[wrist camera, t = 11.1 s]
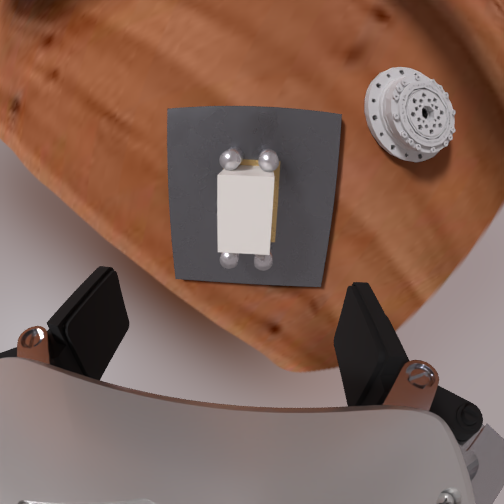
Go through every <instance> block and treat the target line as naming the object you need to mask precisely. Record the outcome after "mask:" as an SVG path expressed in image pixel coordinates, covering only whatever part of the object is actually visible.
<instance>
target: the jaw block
mask: <svg viewBox="0 0 504 504" xmlns="http://www.w3.org/2000/svg"><path fill="white" fill-rule="evenodd" d="M274 178H275V177H274V172H273V171H272V172H266V171H264V170H262V169H261V168H260V166H252V165H239V166H238V167H237V168H236V169H234V170H225V169H223V170H222V171H221V172H220V173H219V174H218V175H217V235H218V252H224V253H242V254H260V255H269V254H270V240H271V225H272V210H273V194H274Z"/></svg>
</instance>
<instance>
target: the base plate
mask: <svg viewBox="0 0 504 504" xmlns="http://www.w3.org/2000/svg"><path fill="white" fill-rule="evenodd" d="M341 117H342V114H335V113H328V112H320V111H312V110H302V109H291V108H277V107H257V106H206V107H185V108H172V109H168V119H167V152H168V187H169V207H170V222H171V236H172V247H173V258H174V268H175V277H176V279H185V280H199V281H213V282H228V283H244V284H262V285H283V286H306V287H321V283H322V277H323V272H324V266H325V260H326V254H327V248H328V241H329V234H330V227H331V220H332V213H333V205H334V197H335V188H336V179H337V169H338V158H339V146H340V133H341ZM239 165H252V166H260V168H261V169H262V170H264V171H266V172H272V171H273V172H274V177H275V178H274V194H273V210H272V225H271V240H270V254H269V255H260V254H242V253H224V252H218V235H217V175H218V174H219V173H220V172H221V171H222V170H223V169H225V170H234V169H236V168H237V167H238V166H239Z"/></svg>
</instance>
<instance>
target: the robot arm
mask: <svg viewBox="0 0 504 504" xmlns="http://www.w3.org/2000/svg"><path fill="white" fill-rule="evenodd" d="M47 325H48V327H49V330H48V331H46V329H45V328H43V327H41V326H35V327H31V328H28V329H27V330H25V331H24V332H23V333H22V334H21V335H20V337H19V339H18V344H17V347H16V348H13V349H10V350H8V351H5V352H2V353H0V504H492V503H493V502H494V500H495V499H496V497H497V496H498V494H499V493H500V491H501V489H502V488H503V486H504V439H503V438H502V437H501V436H500V435H499V434H498V433H497V432H496V431H494V429H492V428H491V427H490V426H489V425H488V424H486V425H485V426H484V425H483V424H482V423H483V418H482V414H481V411H480V410H479V408H478V407H477V406H476V405H474V404H473V403H471V402H469V401H467V400H465V399H463V398H461V397H459V396H457V395H455V394H454V393H452V392H450V391H448V390H446V389H444V388H442V387H440V386H438V383H439V377H438V373H437V372H436V370H435V369H434V368H433V367H432V366H431V365H430V364H428V363H427V362H424V361H421V360H412V361H409V359H408V357H407V355H406V353H405V351H404V349H403V346H402V345H401V342H400V340H399V338H398V337H397V334H396V332H395V330H394V328H393V326H392V324H391V322H390V320H389V318H388V317H387V316H386V315H385V313H384V311H383V309H382V307H381V305H380V304H379V302H378V300H377V298H376V296H375V294H374V292H373V291H372V289H371V287H370V285H369V284H368V283H362V282H354V283H353V284H352V286H348V288H347V292H346V296H345V300H344V304H343V308H342V312H341V315H340V319H339V323H338V326H337V330H336V333H335V337H334V347H335V351H336V355H337V360H338V364H339V368H340V372H341V377H342V381H343V386H344V391H345V395H346V399H347V404H348V407H328V408H269V407H248V406H236V405H225V404H216V403H207V402H200V401H192V400H186V399H180V398H174V397H168V396H162V395H157V394H152V393H148V392H143V391H139V390H134V389H130V388H126V387H122V386H118V385H114V384H110V383H107V382H103V381H100V379H101V377H102V375H103V373H104V371H105V369H106V368H107V366H108V364H109V362H110V360H111V359H112V357H113V355H114V353H115V351H116V350H117V348H118V346H119V344H120V343H121V341H122V339H123V337H124V336H125V334H126V332H127V330H128V328H129V319H128V316H127V312H126V309H125V305H124V301H123V297H122V293H121V289H120V284H119V280H118V275H117V273H116V271H114V269H113V268H111V267H103V266H100V267H99V268H97V269H96V270H95V271H94V272H93V273H92V274H91V275H90V276H89V277H88V278H87V279H86V280H85V281H84V283H82V284H81V285H80V287H79V288H78V289H77V290H76V291H75V292H74V293H73V294H72V295H71V296H70V297H69V298H68V300H67V301H66V302H65V303H64V304H63V305H62V306H61V307H60V308H59V309H58V311H57V312H56V313H55V314H54V315H53V316H52V317H51V318H50V320H49V321H48V322H47Z"/></svg>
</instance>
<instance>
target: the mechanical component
mask: <svg viewBox="0 0 504 504" xmlns="http://www.w3.org/2000/svg"><path fill="white" fill-rule="evenodd" d="M376 86H377V87H376ZM448 96H449V95H448V93H447V92H445V91H444V90H443V87H442V86H441V85H438V84H437V83H436V82H435V80H433V79H432V80H431V79H429V78H428V77H426V76H425V75H423V74H422V73H421V72H419V71H416V70H413V69H411V68H405V67H396V68H391V69H388V70H386V71H384V72H382V73H379V74H378V76H377V77H376V78H375V79H374V80H373V81H372V82H371V83H370V85H369V87H368V89H367V92H366V96H365V115H366V120H367V124H368V127H369V129H370V131H371V133H372V135H373V137H374V138H375V139H376V141H377V142H378V144H379V145H380V146H381V147H382V148H383V149H385V150H386V151H387V152H388V153H389V154H391V155H393V156H395V157H397V158H399V159H402V160H406V161H412V162H421V161H425V160H428V159H430V158H432V157H434V156H435V155H436V154H437V153H438V152H439V151H440V150H441V149H442V148H444V147H445V146H446V147H447V146H448V142H449V141H450V140H452V139H453V137H452V134H453V133H454V132H455V128H454V123H455V120H454V115H455V113H456V112H455V110H453V108H452V104H451V102H450V100H449V98H448ZM372 116H373V118H374V120H373V118H372Z"/></svg>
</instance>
